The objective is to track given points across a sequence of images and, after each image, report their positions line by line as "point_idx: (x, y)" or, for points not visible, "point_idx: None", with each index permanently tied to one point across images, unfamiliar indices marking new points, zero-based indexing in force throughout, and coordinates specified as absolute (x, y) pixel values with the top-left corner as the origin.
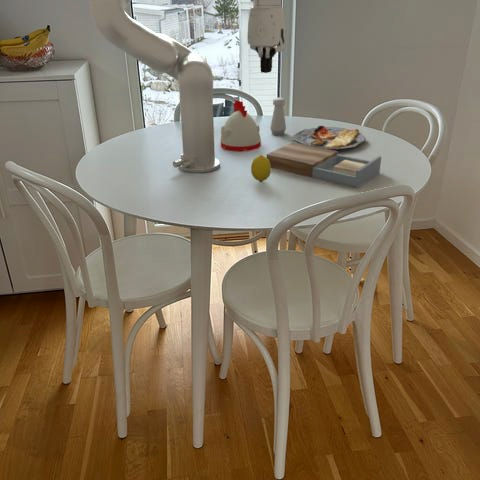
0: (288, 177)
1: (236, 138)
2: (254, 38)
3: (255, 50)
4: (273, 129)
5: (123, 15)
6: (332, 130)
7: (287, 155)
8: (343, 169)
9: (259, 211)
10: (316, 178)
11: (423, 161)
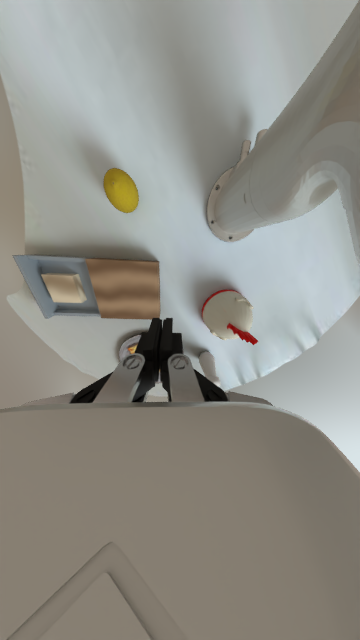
0: (115, 242)
1: (223, 297)
2: (260, 524)
3: (226, 393)
4: (208, 353)
5: None
6: None
7: (133, 273)
8: (59, 275)
9: (34, 42)
10: (88, 257)
11: (59, 354)
